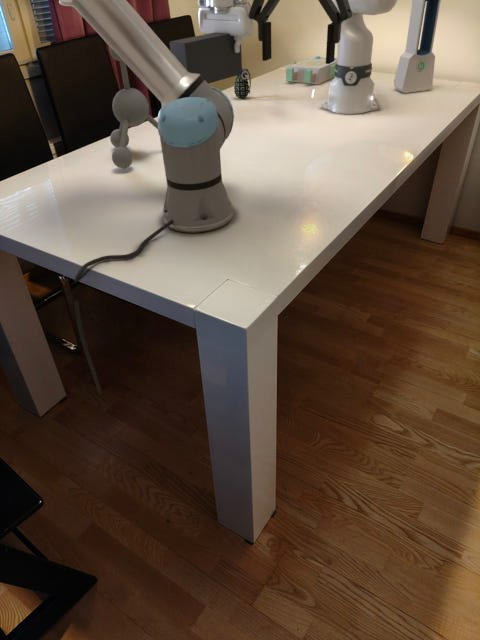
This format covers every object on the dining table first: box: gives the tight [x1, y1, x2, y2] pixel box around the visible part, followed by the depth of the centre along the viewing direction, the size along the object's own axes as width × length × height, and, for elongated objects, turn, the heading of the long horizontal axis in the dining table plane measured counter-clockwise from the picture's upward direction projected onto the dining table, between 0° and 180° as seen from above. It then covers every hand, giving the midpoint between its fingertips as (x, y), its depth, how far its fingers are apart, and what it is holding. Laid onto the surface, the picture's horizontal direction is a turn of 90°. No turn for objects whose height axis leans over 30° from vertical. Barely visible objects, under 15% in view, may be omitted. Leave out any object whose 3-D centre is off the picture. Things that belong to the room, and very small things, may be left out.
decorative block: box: [285, 55, 337, 85], centre depth 205 cm, size 26×6×20 cm
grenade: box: [233, 68, 252, 100], centre depth 184 cm, size 7×6×10 cm
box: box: [169, 33, 243, 85], centre depth 149 cm, size 23×6×12 cm, turn 137°
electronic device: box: [393, 0, 442, 94], centre depth 176 cm, size 12×8×30 cm, turn 105°
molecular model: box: [108, 45, 158, 169], centre depth 132 cm, size 24×22×30 cm
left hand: (297, 61), depth 97 cm, fingers open, 13 cm apart
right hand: (227, 51), depth 153 cm, fingers closed on box, 6 cm apart
